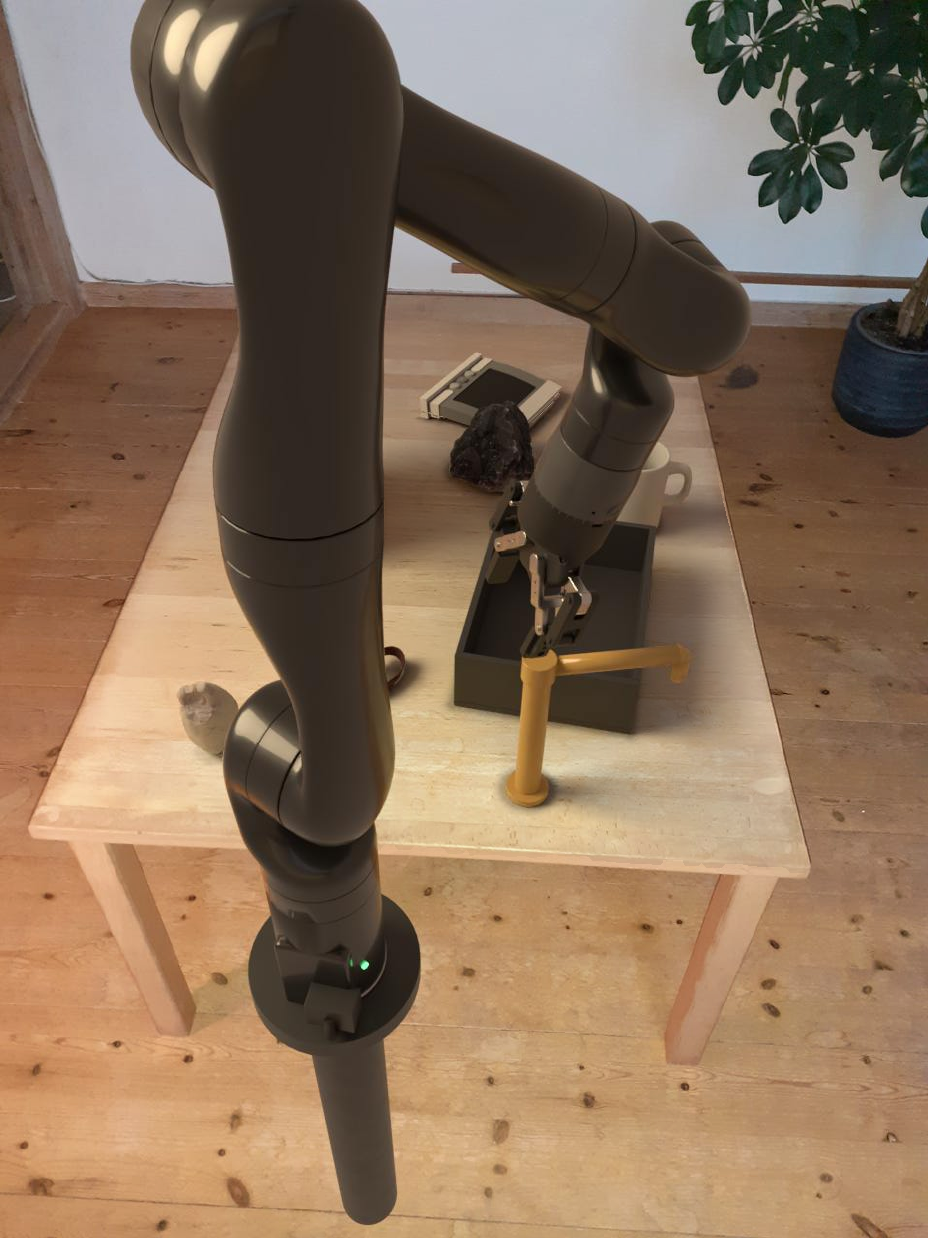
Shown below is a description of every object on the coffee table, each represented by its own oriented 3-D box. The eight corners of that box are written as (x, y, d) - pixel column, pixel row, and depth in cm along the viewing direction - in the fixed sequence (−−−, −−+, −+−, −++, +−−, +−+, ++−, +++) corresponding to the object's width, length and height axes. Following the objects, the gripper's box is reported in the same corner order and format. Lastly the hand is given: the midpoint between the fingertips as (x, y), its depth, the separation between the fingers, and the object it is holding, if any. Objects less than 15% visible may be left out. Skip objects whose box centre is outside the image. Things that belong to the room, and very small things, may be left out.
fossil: (242, 727, 106) (228, 663, 100) (248, 751, 104) (235, 686, 97) (188, 742, 105) (170, 677, 98) (193, 766, 102) (176, 701, 96)
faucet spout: (522, 708, 90) (525, 672, 86) (516, 683, 92) (519, 647, 89) (689, 691, 92) (699, 656, 88) (679, 667, 94) (688, 631, 91)
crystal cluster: (477, 511, 137) (488, 452, 130) (426, 458, 144) (433, 399, 137) (552, 487, 143) (566, 430, 136) (500, 437, 150) (510, 380, 143)
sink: (630, 734, 107) (640, 685, 101) (453, 705, 109) (454, 656, 104) (647, 574, 126) (656, 525, 121) (497, 552, 129) (500, 504, 124)
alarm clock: (475, 352, 162) (564, 371, 155) (476, 377, 165) (564, 397, 158) (419, 397, 151) (512, 420, 144) (422, 424, 154) (513, 448, 147)
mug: (600, 539, 131) (609, 471, 124) (592, 501, 138) (601, 434, 130) (689, 539, 132) (704, 471, 124) (677, 502, 138) (691, 434, 130)
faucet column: (545, 810, 99) (558, 699, 88) (502, 802, 100) (510, 691, 88) (551, 776, 102) (564, 665, 91) (509, 769, 103) (518, 657, 92)
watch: (385, 653, 115) (384, 630, 113) (415, 671, 113) (415, 649, 110) (339, 689, 111) (337, 667, 108) (369, 710, 109) (368, 687, 106)
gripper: (505, 422, 78) (448, 560, 90) (577, 554, 70) (504, 686, 82) (584, 422, 81) (519, 555, 93) (661, 548, 74) (580, 676, 85)
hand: (512, 616), depth 87 cm, fingers open, 8 cm apart
